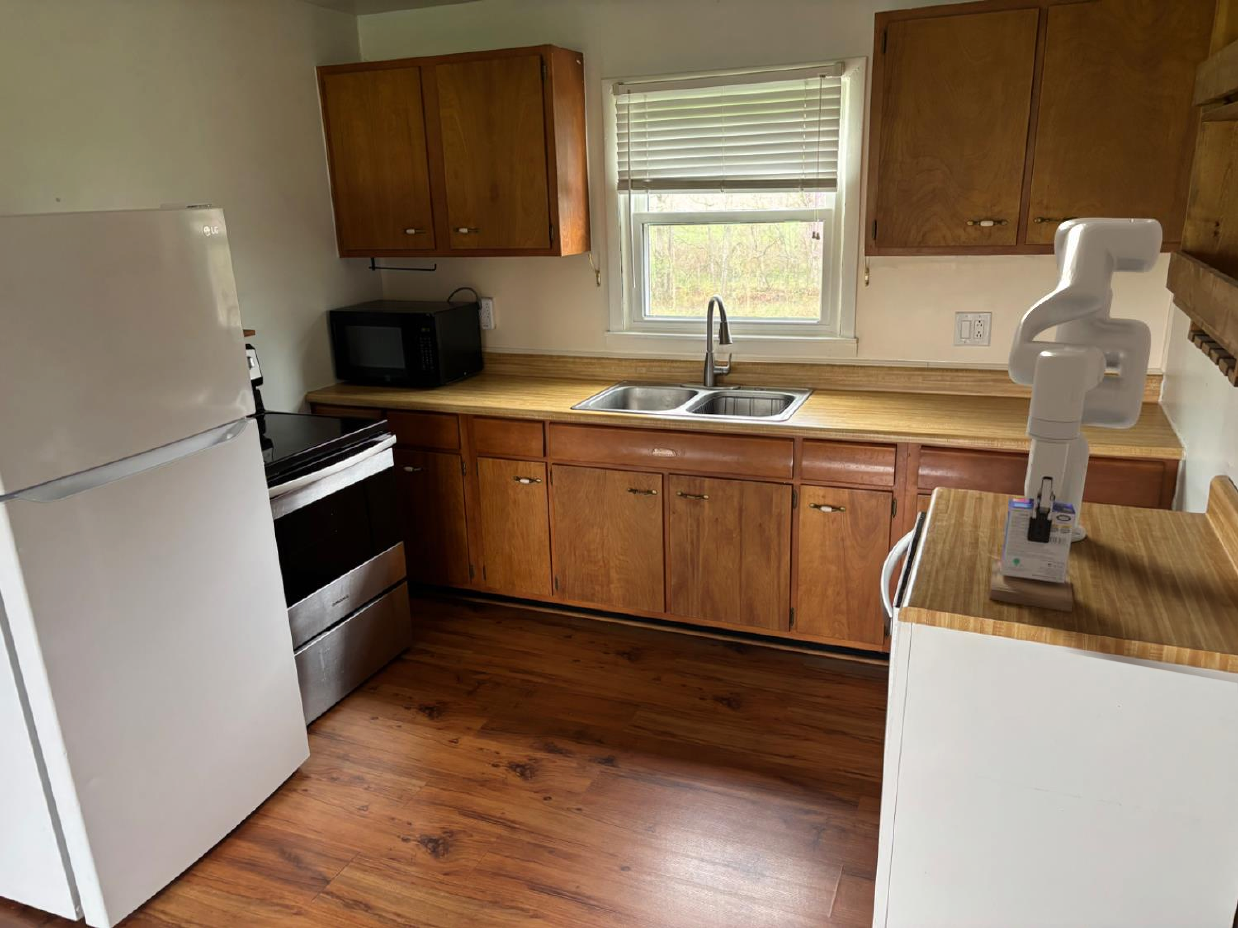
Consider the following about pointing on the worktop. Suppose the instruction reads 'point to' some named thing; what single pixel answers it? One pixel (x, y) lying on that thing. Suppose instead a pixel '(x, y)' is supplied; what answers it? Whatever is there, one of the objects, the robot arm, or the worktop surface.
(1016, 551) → the ink cartridge box
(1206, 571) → the worktop surface
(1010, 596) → the board
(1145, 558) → the worktop surface
